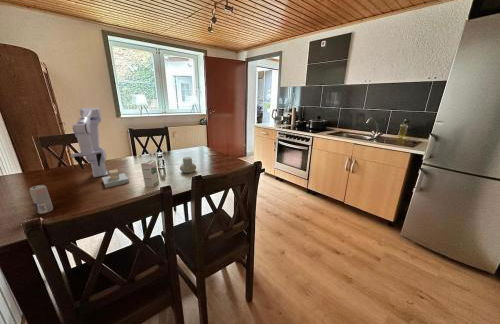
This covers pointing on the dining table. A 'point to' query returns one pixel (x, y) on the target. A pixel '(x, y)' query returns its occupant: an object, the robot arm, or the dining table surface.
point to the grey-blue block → (115, 180)
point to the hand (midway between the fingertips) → (91, 167)
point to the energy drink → (41, 199)
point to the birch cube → (114, 174)
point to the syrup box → (150, 173)
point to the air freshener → (187, 165)
